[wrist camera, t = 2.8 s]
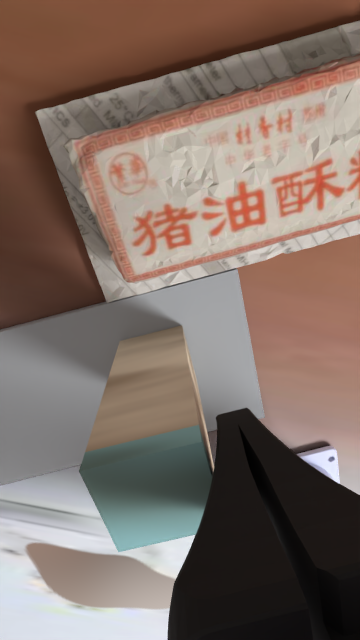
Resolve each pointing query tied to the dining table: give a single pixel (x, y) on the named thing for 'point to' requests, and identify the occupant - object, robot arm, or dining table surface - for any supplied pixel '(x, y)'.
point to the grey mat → (96, 361)
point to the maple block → (150, 444)
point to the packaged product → (214, 162)
